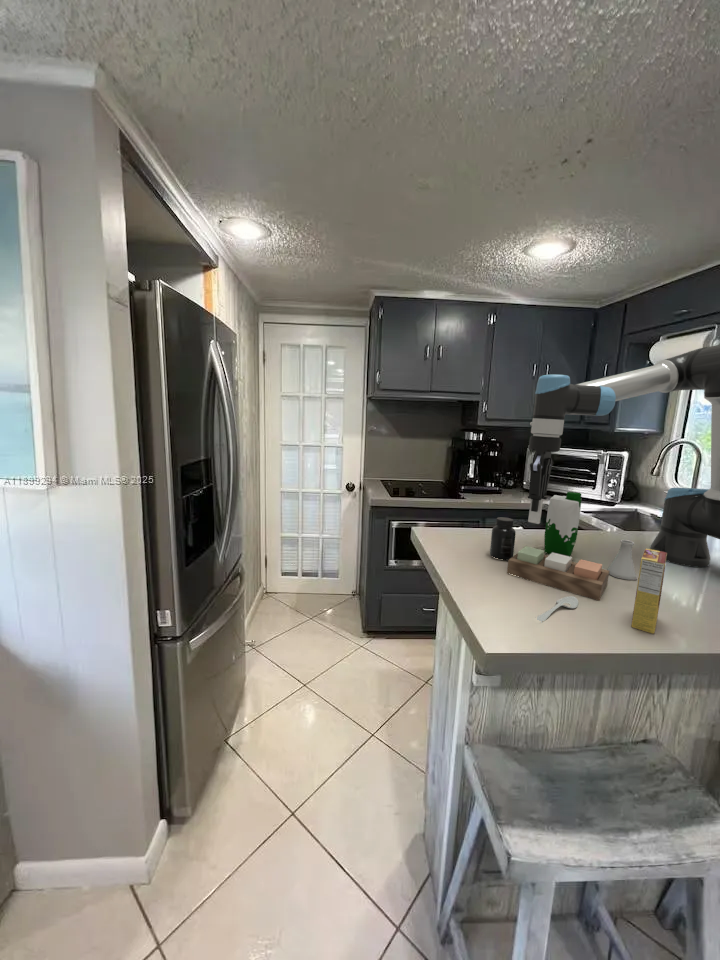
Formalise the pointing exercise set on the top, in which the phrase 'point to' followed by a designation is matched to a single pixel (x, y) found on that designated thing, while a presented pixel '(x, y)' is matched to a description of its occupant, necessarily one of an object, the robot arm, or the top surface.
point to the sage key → (531, 555)
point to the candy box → (649, 590)
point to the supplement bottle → (503, 539)
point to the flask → (623, 562)
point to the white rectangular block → (558, 562)
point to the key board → (559, 577)
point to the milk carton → (562, 523)
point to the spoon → (569, 600)
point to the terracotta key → (588, 569)
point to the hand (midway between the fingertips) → (533, 522)
